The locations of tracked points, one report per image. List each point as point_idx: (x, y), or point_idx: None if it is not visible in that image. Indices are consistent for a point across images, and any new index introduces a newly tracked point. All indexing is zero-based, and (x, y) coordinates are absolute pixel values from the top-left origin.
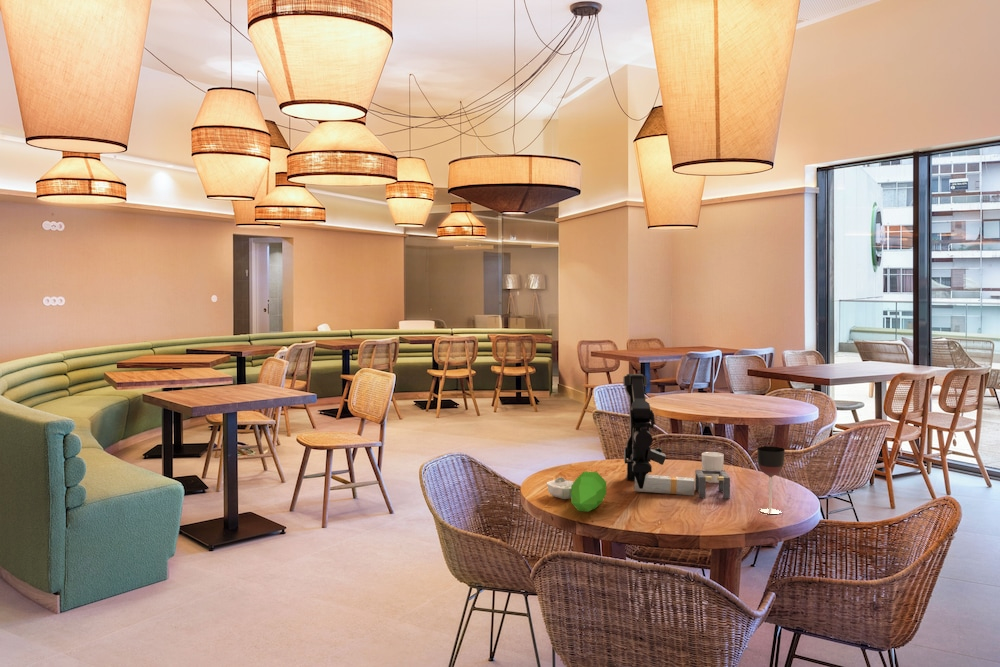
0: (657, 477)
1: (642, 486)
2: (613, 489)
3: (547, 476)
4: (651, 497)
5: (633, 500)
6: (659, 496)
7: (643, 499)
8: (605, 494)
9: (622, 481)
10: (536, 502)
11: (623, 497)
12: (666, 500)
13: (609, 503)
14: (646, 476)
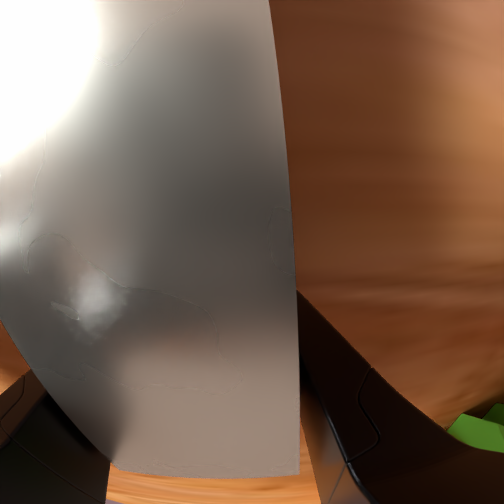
0: (135, 78)
1: (311, 308)
2: None
3: (121, 498)
4: (402, 152)
5: (470, 298)
6: (347, 55)
7: (461, 231)
8: (499, 425)
9: (2, 366)
10: None
11: (392, 362)
12: (476, 18)
13: (481, 382)
14: (186, 383)
